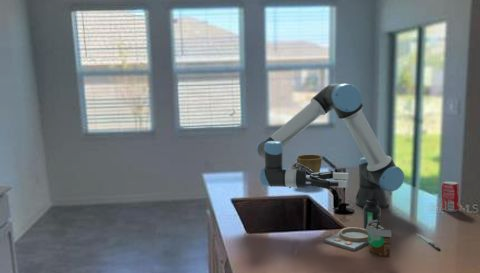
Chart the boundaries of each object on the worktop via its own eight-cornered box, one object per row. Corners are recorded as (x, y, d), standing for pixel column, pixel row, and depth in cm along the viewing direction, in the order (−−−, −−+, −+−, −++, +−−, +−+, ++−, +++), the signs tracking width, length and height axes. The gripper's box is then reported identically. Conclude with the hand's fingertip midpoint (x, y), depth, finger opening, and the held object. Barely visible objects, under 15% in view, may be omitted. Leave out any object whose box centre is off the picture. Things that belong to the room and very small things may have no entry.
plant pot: (297, 180, 259) (296, 154, 257) (321, 180, 257) (321, 154, 255) (296, 186, 245) (296, 159, 242) (323, 186, 242) (322, 159, 240)
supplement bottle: (371, 232, 169) (372, 203, 167) (359, 227, 175) (359, 199, 173) (384, 229, 172) (384, 200, 170) (372, 224, 178) (372, 196, 176)
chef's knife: (420, 232, 168) (413, 232, 168) (420, 230, 168) (413, 230, 168) (446, 251, 149) (437, 251, 149) (446, 248, 149) (438, 248, 149)
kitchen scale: (324, 241, 161) (324, 236, 161) (349, 229, 172) (349, 224, 172) (354, 251, 152) (354, 245, 151) (378, 237, 163) (378, 232, 163)
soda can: (460, 212, 188) (461, 184, 187) (443, 212, 190) (444, 184, 188) (456, 207, 195) (457, 180, 193) (439, 207, 197) (440, 180, 195)
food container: (360, 246, 156) (360, 220, 154) (376, 245, 156) (377, 219, 155) (373, 260, 143) (374, 232, 142) (391, 258, 144) (391, 230, 143)
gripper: (300, 180, 192) (349, 181, 186) (291, 194, 168) (346, 197, 162) (300, 163, 191) (349, 165, 185) (291, 176, 167) (346, 178, 161)
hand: (348, 180), depth 173 cm, fingers open, 13 cm apart
